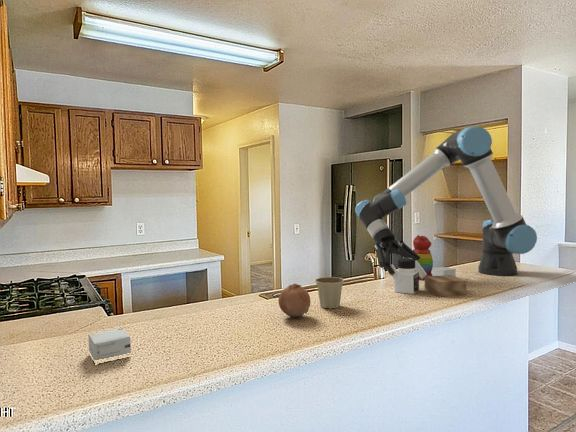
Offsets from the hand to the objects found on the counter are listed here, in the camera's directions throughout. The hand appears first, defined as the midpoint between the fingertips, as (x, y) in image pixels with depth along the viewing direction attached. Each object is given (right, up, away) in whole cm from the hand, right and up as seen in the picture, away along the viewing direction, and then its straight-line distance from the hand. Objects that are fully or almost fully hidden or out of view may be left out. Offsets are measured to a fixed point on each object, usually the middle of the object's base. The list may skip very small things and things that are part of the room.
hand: (412, 279), depth 146 cm
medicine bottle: (-1, -5, +2) cm, 6 cm away
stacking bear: (+11, -4, +24) cm, 27 cm away
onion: (-43, -7, -26) cm, 51 cm away
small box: (-86, -10, -52) cm, 101 cm away
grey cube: (+16, -4, +13) cm, 21 cm away
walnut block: (+11, -5, -1) cm, 12 cm away
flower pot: (-31, -7, -15) cm, 35 cm away
